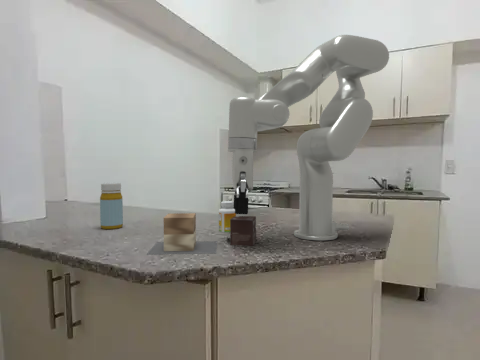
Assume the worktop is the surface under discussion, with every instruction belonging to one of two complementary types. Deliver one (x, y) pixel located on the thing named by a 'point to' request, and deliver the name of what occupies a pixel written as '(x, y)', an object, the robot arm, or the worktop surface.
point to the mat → (200, 248)
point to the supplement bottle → (226, 215)
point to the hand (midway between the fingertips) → (240, 211)
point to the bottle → (111, 206)
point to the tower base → (180, 242)
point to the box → (243, 230)
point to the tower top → (179, 223)
